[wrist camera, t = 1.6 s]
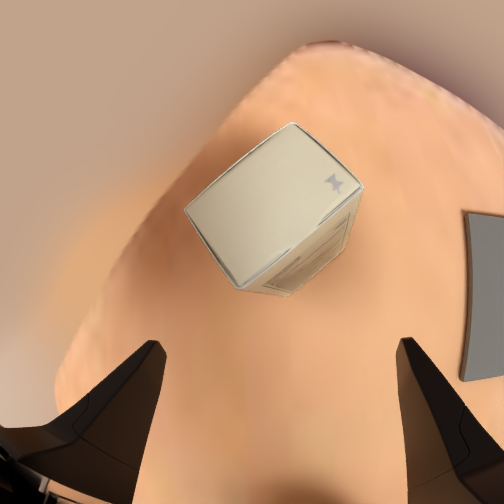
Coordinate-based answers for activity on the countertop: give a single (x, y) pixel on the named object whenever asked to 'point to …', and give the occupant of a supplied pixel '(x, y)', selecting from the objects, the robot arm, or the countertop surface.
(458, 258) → the countertop surface
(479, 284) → the charcoal mat
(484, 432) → the robot arm
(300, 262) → the skincare box
